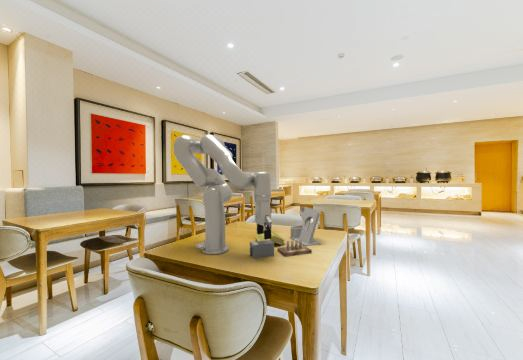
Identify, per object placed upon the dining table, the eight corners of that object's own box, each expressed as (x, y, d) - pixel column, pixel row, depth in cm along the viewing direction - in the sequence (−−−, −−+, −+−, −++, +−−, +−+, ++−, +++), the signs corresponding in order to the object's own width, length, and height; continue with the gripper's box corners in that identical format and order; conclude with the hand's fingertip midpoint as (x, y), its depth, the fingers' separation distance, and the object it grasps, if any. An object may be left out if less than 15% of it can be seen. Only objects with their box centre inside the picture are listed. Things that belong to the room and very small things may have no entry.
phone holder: (288, 237, 136) (288, 206, 136) (303, 235, 140) (303, 205, 140) (305, 246, 120) (306, 211, 120) (321, 244, 125) (322, 210, 124)
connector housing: (253, 258, 103) (253, 244, 103) (249, 255, 108) (249, 241, 108) (274, 256, 107) (274, 242, 106) (270, 252, 111) (270, 239, 111)
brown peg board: (284, 256, 106) (284, 244, 105) (277, 251, 113) (277, 239, 113) (311, 253, 110) (311, 241, 110) (303, 247, 118) (303, 237, 118)
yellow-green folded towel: (286, 240, 122) (271, 234, 118) (280, 253, 122) (264, 248, 118) (270, 229, 141) (256, 223, 137) (264, 240, 140) (250, 235, 136)
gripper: (249, 197, 113) (250, 233, 114) (261, 201, 97) (262, 242, 97) (263, 196, 116) (265, 231, 116) (277, 199, 99) (279, 240, 100)
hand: (264, 236), depth 107 cm, fingers open, 9 cm apart
